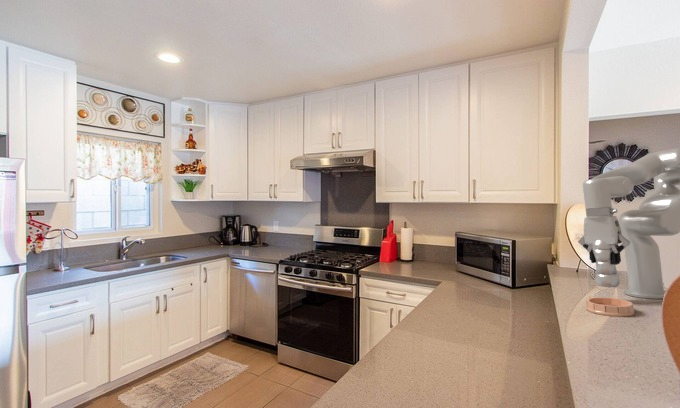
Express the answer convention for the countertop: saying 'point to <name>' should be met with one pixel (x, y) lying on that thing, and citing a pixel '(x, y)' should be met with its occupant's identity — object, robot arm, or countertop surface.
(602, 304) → the round tray
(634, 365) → the countertop surface
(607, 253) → the plastic bottle
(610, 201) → the robot arm
